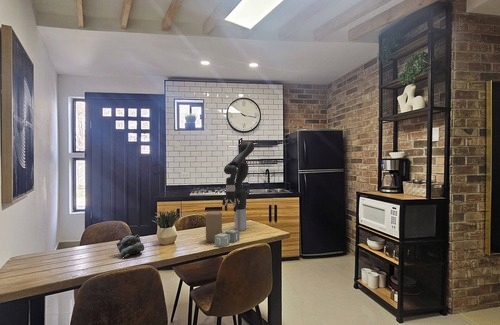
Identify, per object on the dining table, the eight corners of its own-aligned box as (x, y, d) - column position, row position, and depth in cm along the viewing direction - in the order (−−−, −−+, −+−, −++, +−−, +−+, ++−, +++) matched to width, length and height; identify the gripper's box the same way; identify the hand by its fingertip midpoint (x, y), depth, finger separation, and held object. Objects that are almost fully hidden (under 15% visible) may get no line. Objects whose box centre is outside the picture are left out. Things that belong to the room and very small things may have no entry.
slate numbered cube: (231, 239, 213) (231, 229, 213) (239, 240, 209) (239, 230, 209) (225, 241, 207) (225, 231, 207) (233, 243, 203) (233, 232, 203)
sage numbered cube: (221, 243, 203) (221, 232, 203) (229, 244, 199) (229, 234, 199) (214, 245, 197) (214, 235, 197) (223, 247, 193) (222, 236, 193)
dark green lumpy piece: (118, 259, 171) (112, 237, 175) (122, 261, 182) (116, 240, 186) (144, 249, 175) (137, 228, 180) (147, 252, 186) (140, 231, 190)
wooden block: (222, 238, 214) (221, 211, 214) (219, 242, 204) (219, 214, 204) (209, 238, 215) (208, 211, 215) (205, 242, 205) (205, 214, 205)
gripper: (240, 190, 230) (240, 211, 230) (226, 190, 238) (226, 210, 238) (235, 191, 224) (235, 212, 224) (220, 190, 232) (220, 211, 231)
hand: (230, 211), depth 231 cm, fingers open, 8 cm apart
